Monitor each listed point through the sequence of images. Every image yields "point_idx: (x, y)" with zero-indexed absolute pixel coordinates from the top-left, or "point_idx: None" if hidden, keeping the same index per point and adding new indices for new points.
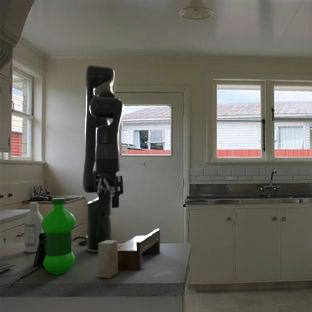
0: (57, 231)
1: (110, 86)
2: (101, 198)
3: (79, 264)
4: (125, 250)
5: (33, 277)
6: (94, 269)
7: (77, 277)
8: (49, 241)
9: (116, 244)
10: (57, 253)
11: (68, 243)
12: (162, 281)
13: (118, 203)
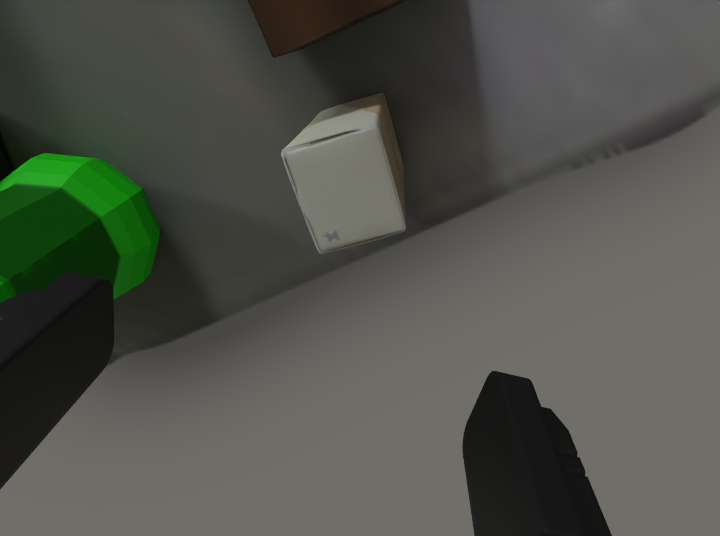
0: None
1: None
2: (31, 416)
3: (58, 74)
4: (367, 9)
5: None
6: (214, 100)
7: (255, 225)
8: None
9: (384, 139)
10: None
11: (73, 265)
12: (703, 76)
13: (570, 452)
